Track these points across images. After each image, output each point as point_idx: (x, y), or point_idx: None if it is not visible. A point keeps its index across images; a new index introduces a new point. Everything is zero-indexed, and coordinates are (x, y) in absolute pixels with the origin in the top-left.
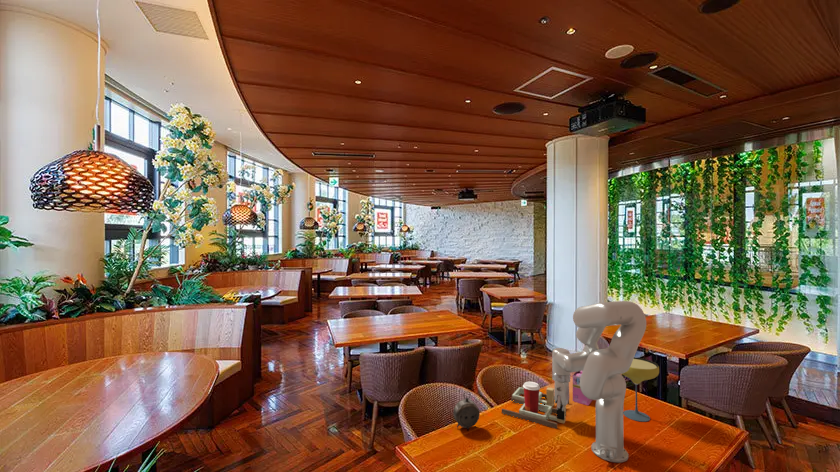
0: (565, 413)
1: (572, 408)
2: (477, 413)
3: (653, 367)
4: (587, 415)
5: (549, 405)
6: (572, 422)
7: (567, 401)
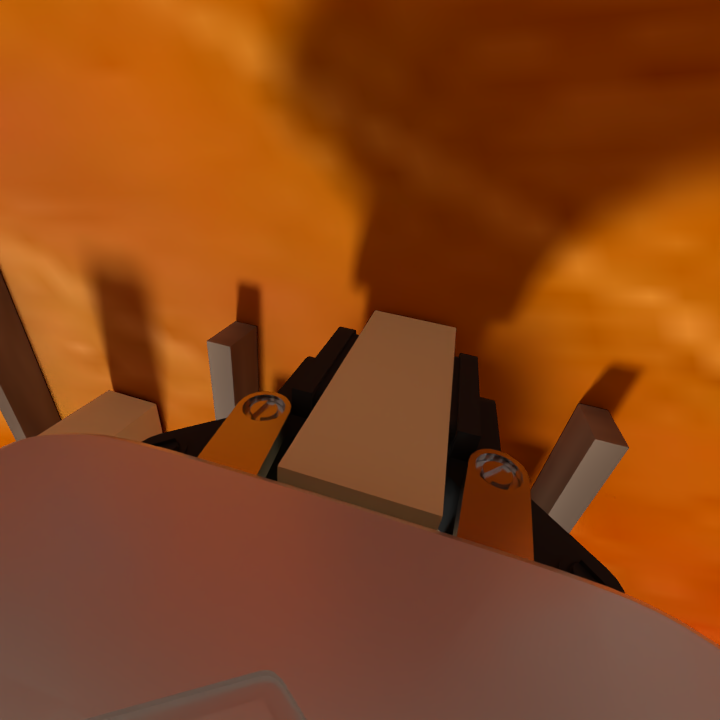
0: (352, 351)
1: (44, 227)
2: None
3: None
4: (63, 12)
5: (156, 430)
6: (368, 226)
7: (421, 594)
